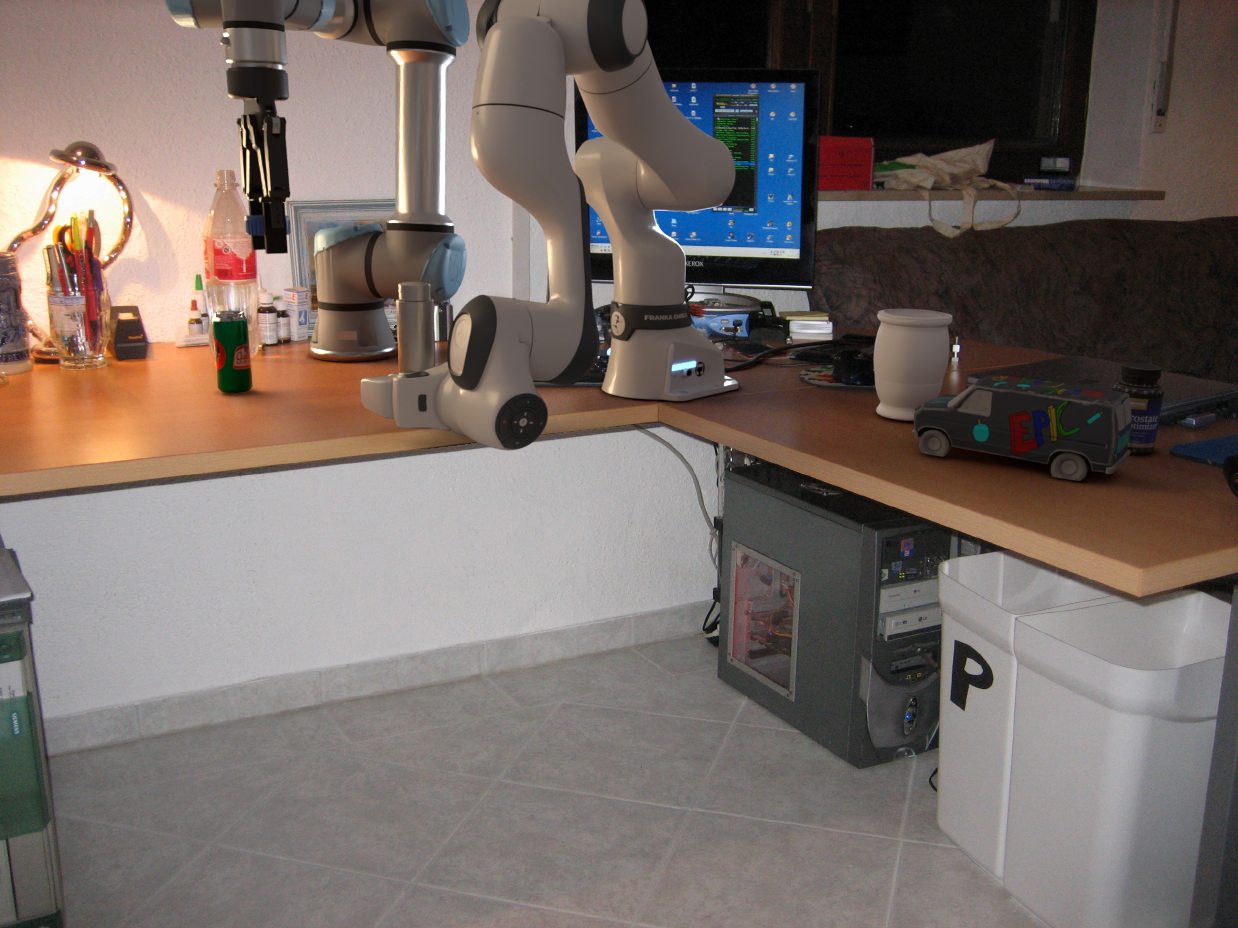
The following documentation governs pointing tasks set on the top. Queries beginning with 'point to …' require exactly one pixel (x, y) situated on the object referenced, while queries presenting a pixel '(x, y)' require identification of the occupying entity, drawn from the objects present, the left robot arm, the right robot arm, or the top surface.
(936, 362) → the jar
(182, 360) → the top surface
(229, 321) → the soda can
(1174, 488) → the top surface
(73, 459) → the top surface
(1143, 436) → the pill bottle
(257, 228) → the lid
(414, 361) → the metal bottle
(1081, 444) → the toy van
